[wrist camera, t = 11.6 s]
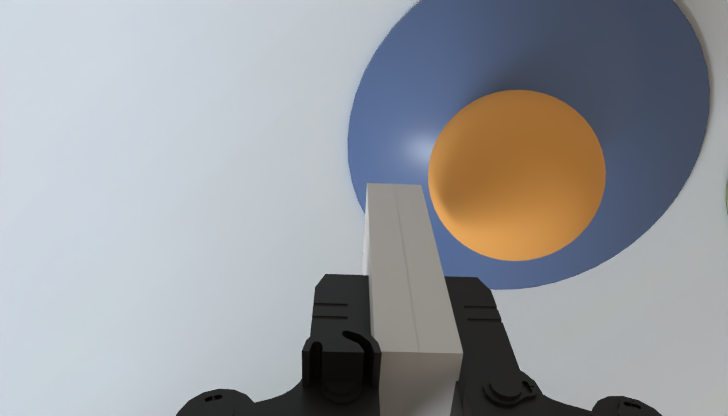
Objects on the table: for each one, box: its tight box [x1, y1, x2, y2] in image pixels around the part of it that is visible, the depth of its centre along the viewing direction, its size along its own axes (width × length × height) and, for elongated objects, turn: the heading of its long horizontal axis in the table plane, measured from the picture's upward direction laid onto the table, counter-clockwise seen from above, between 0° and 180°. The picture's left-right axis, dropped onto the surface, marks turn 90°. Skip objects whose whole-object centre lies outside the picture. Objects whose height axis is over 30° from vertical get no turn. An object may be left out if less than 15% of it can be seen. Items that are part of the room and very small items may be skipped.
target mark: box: [348, 0, 710, 290], centre depth 20 cm, size 13×13×1 cm
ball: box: [428, 90, 606, 261], centre depth 18 cm, size 6×6×6 cm
